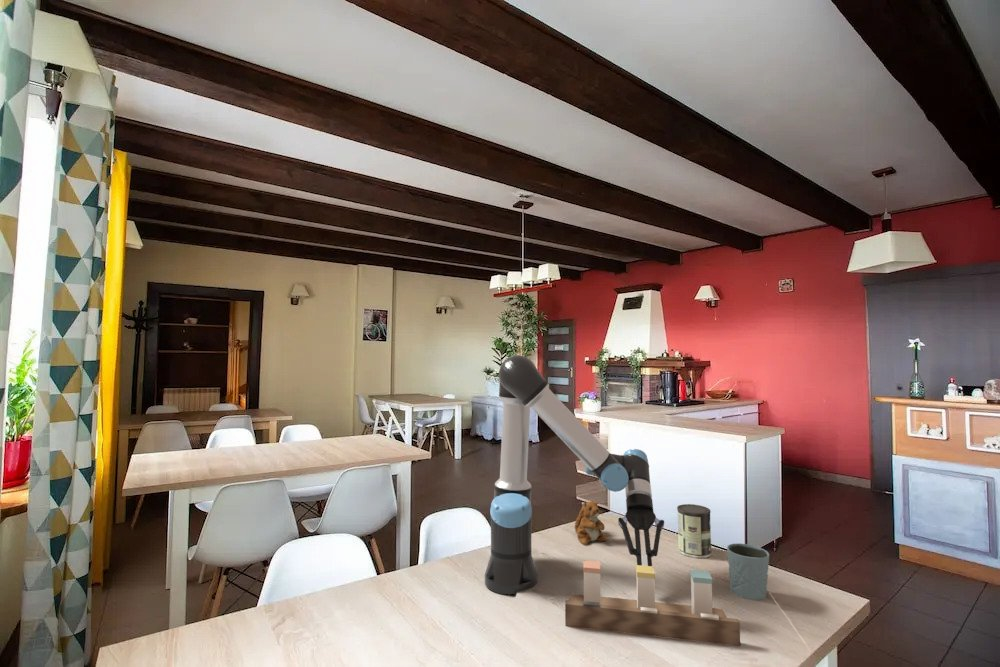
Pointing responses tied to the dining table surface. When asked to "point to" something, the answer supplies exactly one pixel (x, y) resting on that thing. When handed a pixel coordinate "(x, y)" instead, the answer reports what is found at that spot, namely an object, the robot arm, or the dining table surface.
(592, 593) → the button
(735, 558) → the blue-grey embossed cup
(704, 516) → the coffee can
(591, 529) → the stuffed squirrel
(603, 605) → the button console
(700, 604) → the button
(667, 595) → the dining table surface
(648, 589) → the middle button
